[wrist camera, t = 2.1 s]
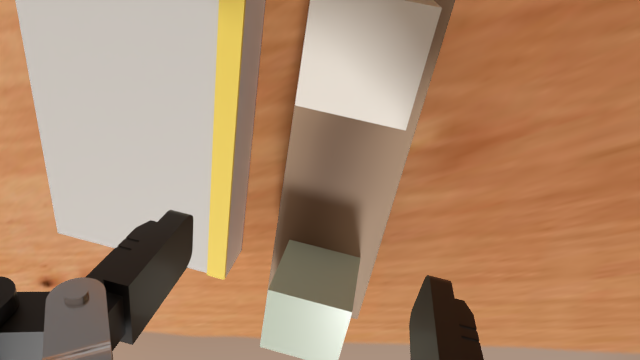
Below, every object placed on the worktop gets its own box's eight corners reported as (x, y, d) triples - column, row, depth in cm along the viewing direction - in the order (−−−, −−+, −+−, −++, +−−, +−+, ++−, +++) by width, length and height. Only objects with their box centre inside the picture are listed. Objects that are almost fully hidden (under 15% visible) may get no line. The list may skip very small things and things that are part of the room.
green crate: (360, 257, 22) (352, 312, 18) (345, 309, 24) (335, 368, 20) (289, 239, 22) (268, 289, 19) (280, 292, 24) (259, 346, 21)
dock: (272, -73, 19) (250, -80, 17) (241, 250, 29) (224, 279, 26) (45, -116, 20) (-13, -130, 18) (88, 210, 30) (55, 234, 27)
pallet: (447, -14, 19) (458, -11, 15) (363, 270, 28) (357, 319, 24) (333, -36, 20) (315, -39, 16) (286, 250, 28) (267, 294, 24)
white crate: (433, -1, 16) (441, 7, 12) (405, 99, 17) (405, 130, 14) (332, -21, 16) (312, -19, 12) (316, 79, 18) (294, 105, 14)
